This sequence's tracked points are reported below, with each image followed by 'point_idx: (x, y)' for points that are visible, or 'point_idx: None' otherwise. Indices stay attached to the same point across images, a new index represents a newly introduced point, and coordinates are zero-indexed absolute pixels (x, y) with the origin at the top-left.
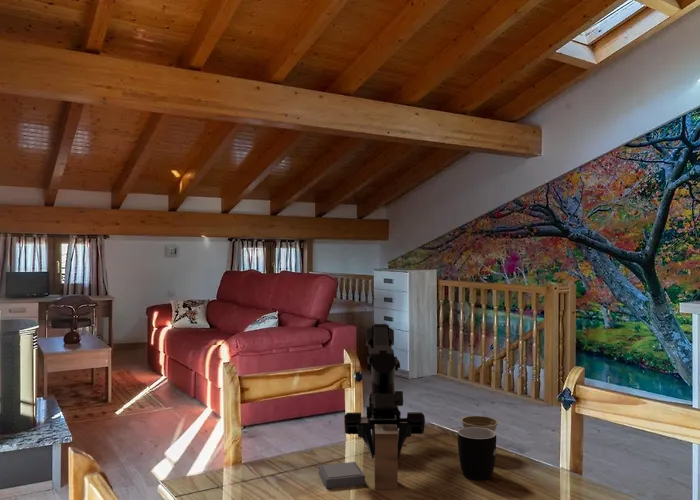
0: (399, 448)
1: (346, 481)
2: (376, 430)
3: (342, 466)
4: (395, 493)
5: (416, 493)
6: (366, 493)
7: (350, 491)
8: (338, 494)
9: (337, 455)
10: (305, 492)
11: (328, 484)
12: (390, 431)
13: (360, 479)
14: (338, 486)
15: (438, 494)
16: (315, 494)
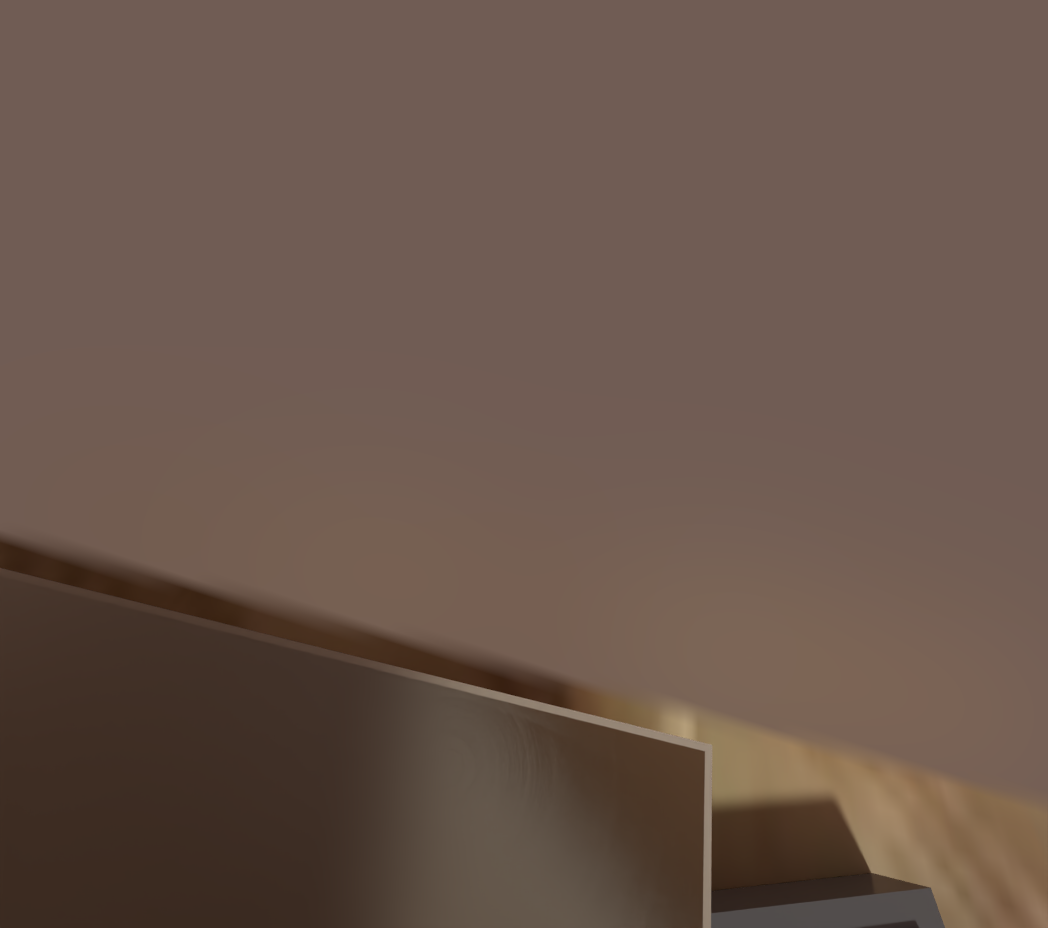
0: None
1: (743, 897)
2: (668, 789)
3: None
4: (384, 652)
5: (239, 615)
6: (582, 703)
7: None
8: (771, 733)
9: None
10: (1001, 829)
11: (880, 879)
12: (234, 626)
13: None
14: (788, 884)
15: (99, 560)
16: (922, 772)
